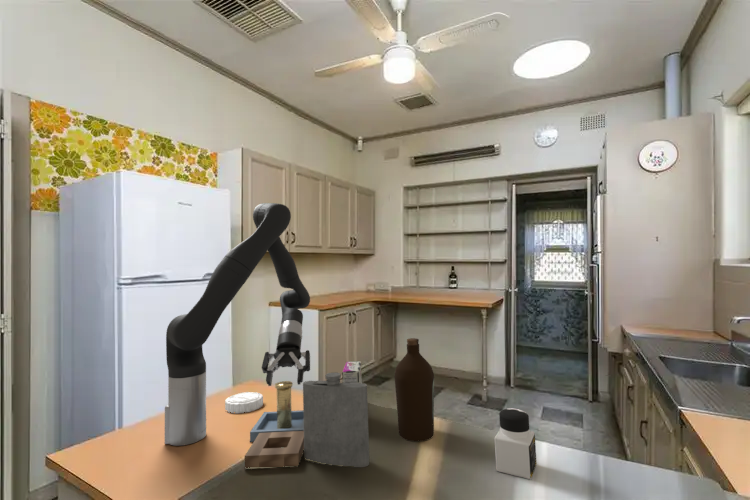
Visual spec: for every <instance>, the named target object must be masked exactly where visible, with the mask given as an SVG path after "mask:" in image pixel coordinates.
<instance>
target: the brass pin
mask: <svg viewBox="0 0 750 500" xmlns="http://www.w3.org/2000/svg"><path fill="white" fill-rule="evenodd" d="M274 385H275V386H274V388H275V389H276V412H277V429H287V428H291V427H292V412H291V411H292V387H293V385H294V384H293V381H291V380H290V381H289V380H284V381H279V382H276V383H275V384H274Z"/></svg>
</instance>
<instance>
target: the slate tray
mask: <svg viewBox="0 0 750 500" xmlns="http://www.w3.org/2000/svg"><path fill="white" fill-rule="evenodd" d="M291 412H292V427H291V428H287V429H277V411H264V412H263V413H262V414H261V416H260V417H259V419H258V420H257V422H256V423H255V424H254V426H253V427H252V429H251V430H250V432H249V442H250V443H253V442H254V441H255V439H256V437H257V436H258V434H259V433H269V432H290V431H304V415H303V409H302V410H291Z"/></svg>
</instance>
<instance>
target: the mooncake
mask: <svg viewBox="0 0 750 500" xmlns="http://www.w3.org/2000/svg"><path fill="white" fill-rule="evenodd" d="M224 402H225V403H224V411H225V410H227V411H228V412H227V411H226V412H227V413H230V412H231V413H230V414H245V413H250V412H254V411H256V410H258V409H259V410H260V408H262V407H263V405H264V396H263V394H262V393H260V392H257V391H255V392H252V391H250V392H249V391H245V392H239V393H236V394H232V395H231V396H228V397H227V398H226V399H225V400H224ZM234 412H235V413H234ZM244 412H245V413H244Z"/></svg>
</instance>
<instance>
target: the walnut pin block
mask: <svg viewBox="0 0 750 500" xmlns="http://www.w3.org/2000/svg"><path fill="white" fill-rule="evenodd" d="M281 447H284V448H281ZM303 449H304V431H290V432H269V433H259V434H258V436H257V437H256V439H255V441H254V442H252V444H251V446H250V447H249V449H248V450H247V452H246V453H245V455H244V468H245V467H246V468H248V467H249V468H250V467H283V466H284V467H285V466H298V465H299V466H300V464H299V462H300V463H301V461H300V459H301V460H302V458H301V456H302V457H303V455H302V453H303V454H304V452H303Z"/></svg>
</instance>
